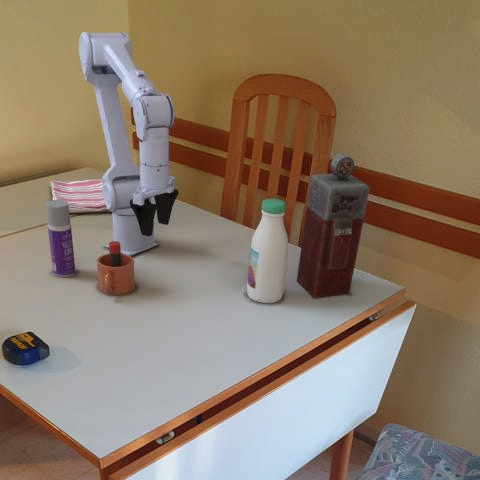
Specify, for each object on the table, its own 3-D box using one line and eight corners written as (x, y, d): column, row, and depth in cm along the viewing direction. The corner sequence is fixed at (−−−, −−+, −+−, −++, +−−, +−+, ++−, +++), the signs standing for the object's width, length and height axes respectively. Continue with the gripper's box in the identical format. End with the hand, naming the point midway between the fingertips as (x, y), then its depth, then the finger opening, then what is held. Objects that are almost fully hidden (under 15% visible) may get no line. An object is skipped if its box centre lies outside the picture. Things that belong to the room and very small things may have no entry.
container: (70, 278, 134) (62, 208, 125) (49, 275, 135) (40, 205, 125) (79, 270, 138) (72, 201, 128) (59, 266, 138) (51, 198, 129)
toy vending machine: (318, 303, 133) (340, 166, 116) (296, 280, 141) (313, 149, 124) (355, 299, 136) (381, 164, 119) (331, 277, 144) (353, 148, 127)
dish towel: (54, 215, 162) (53, 202, 160) (50, 186, 180) (48, 174, 177) (121, 213, 167) (120, 200, 165) (110, 185, 184) (109, 173, 182)
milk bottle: (286, 292, 136) (298, 199, 124) (276, 307, 130) (287, 211, 118) (253, 284, 138) (261, 192, 126) (241, 299, 132) (249, 204, 120)
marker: (116, 281, 133) (114, 240, 128) (124, 284, 132) (122, 243, 127) (109, 284, 132) (106, 243, 126) (116, 287, 131) (114, 246, 125)
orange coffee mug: (104, 277, 136) (102, 251, 132) (138, 281, 135) (137, 255, 132) (90, 299, 127) (87, 271, 124) (126, 303, 127) (124, 275, 123)
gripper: (155, 175, 118) (156, 244, 127) (188, 157, 129) (186, 222, 138) (122, 168, 120) (125, 237, 129) (157, 151, 131) (158, 216, 139)
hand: (155, 229), depth 133 cm, fingers open, 7 cm apart
